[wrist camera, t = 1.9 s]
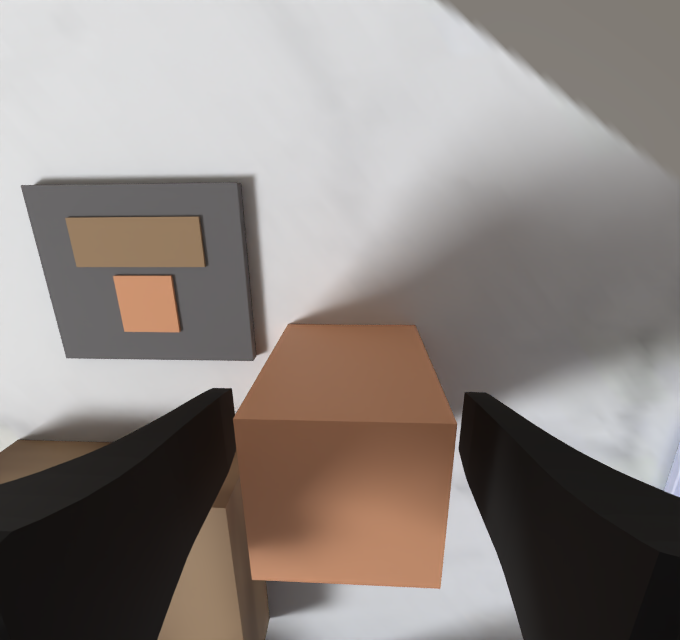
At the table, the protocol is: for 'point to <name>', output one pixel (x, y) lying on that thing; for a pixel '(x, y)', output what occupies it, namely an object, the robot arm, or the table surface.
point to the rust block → (346, 459)
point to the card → (146, 269)
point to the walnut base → (203, 560)
